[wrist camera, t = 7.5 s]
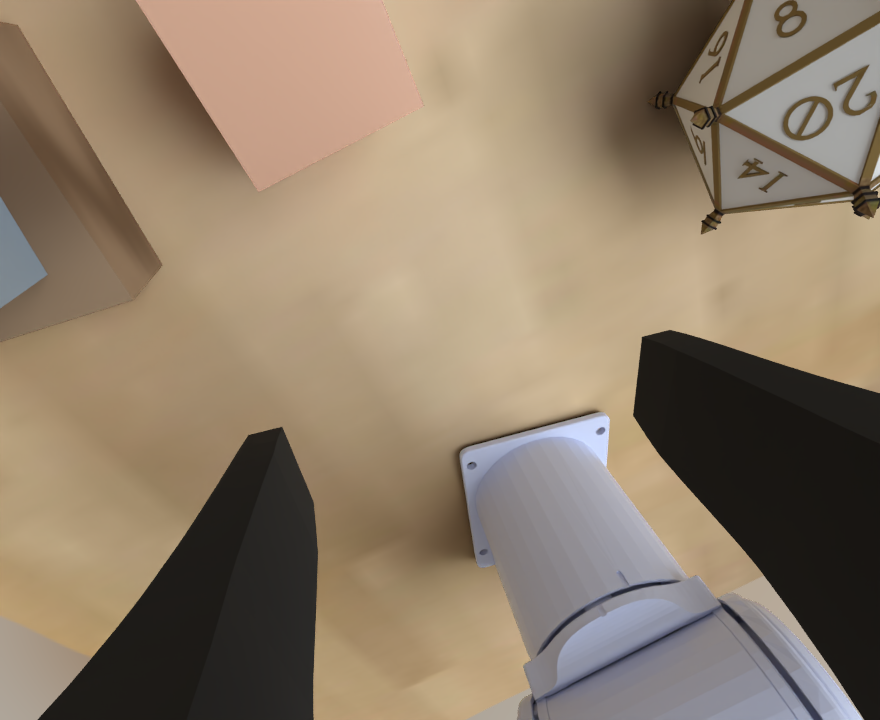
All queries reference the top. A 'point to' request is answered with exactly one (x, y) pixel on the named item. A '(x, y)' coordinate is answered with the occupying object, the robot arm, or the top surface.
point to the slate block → (15, 259)
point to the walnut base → (61, 203)
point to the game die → (786, 106)
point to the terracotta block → (288, 74)
